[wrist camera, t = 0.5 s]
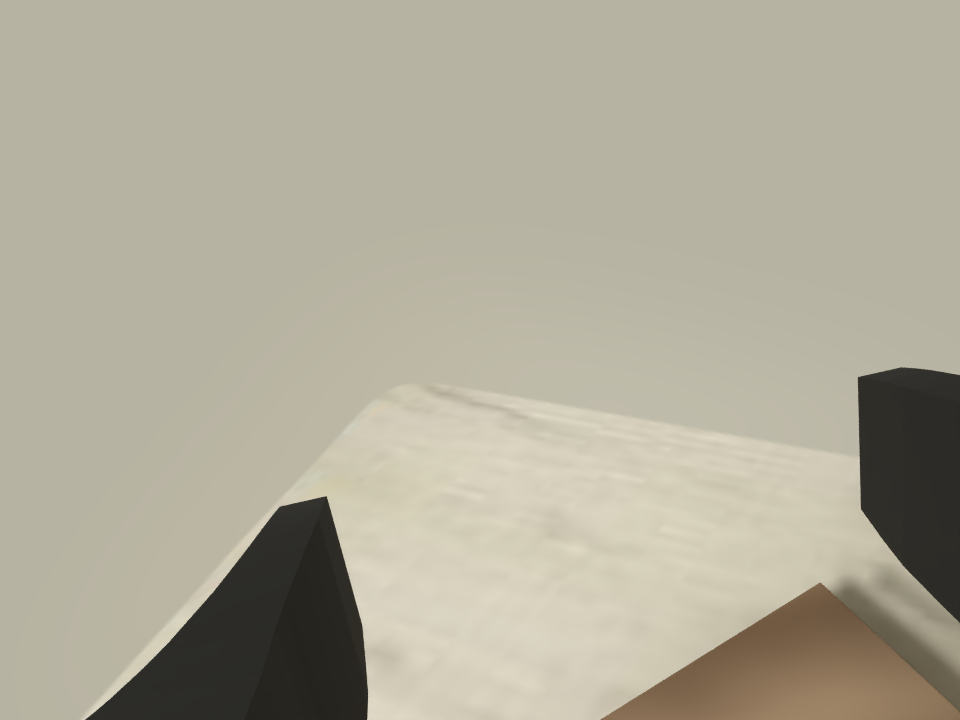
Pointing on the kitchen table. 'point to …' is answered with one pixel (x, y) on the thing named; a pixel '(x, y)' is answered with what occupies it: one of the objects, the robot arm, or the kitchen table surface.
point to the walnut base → (796, 674)
